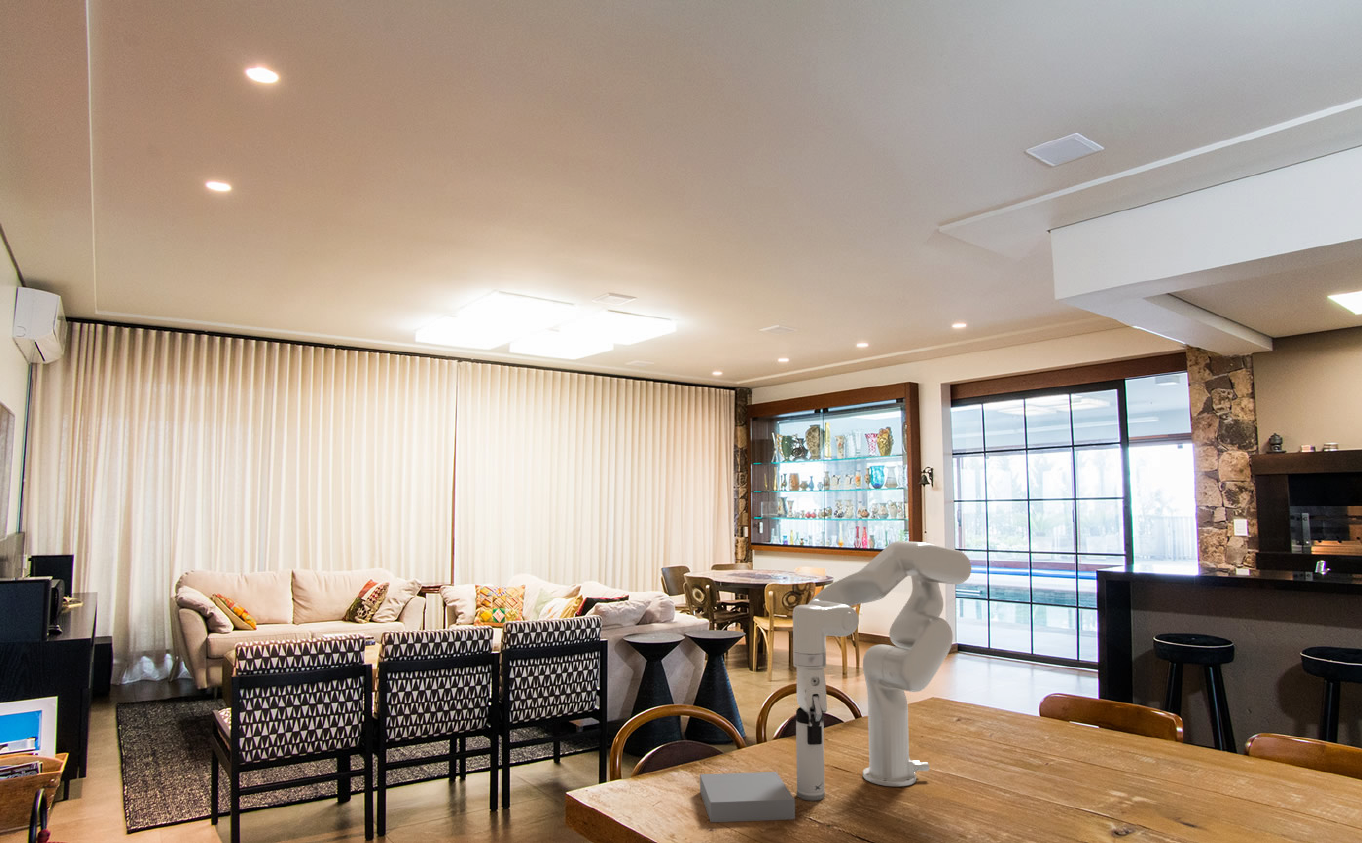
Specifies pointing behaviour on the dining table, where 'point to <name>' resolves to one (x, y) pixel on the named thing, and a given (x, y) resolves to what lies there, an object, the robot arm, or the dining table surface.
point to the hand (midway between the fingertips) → (810, 738)
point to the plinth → (746, 797)
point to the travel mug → (809, 761)
